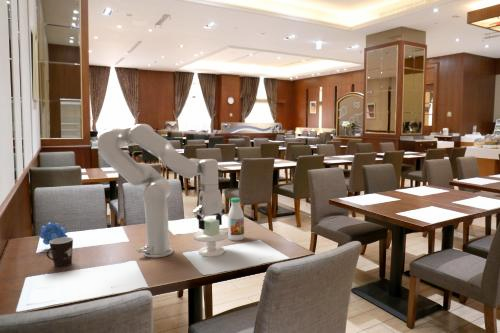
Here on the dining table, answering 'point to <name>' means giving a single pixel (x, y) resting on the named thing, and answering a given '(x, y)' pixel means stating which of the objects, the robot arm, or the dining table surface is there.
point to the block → (211, 227)
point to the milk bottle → (235, 221)
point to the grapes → (52, 232)
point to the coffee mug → (61, 251)
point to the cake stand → (211, 243)
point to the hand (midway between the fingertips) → (210, 226)
